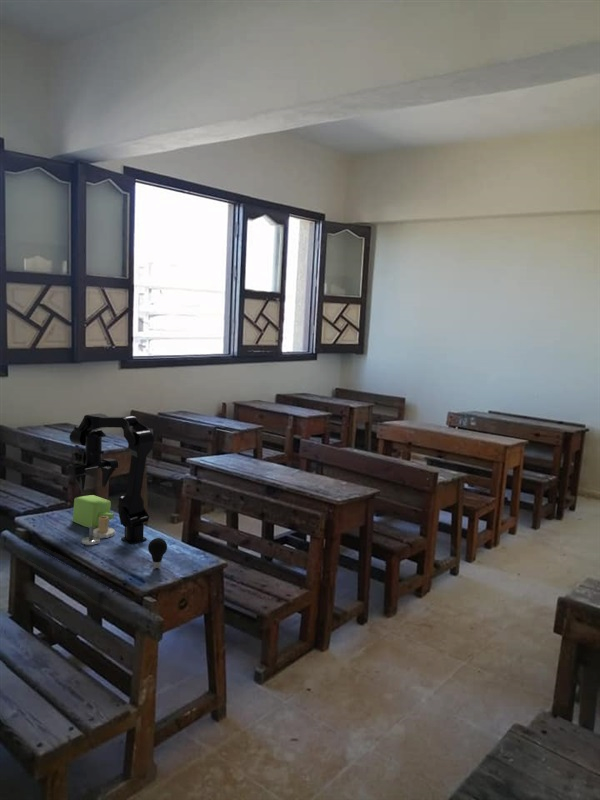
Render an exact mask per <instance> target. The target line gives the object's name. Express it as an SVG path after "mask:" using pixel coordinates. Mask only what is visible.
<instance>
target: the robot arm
mask: <svg viewBox="0 0 600 800" xmlns="http://www.w3.org/2000/svg"><path fill="white" fill-rule="evenodd" d="M105 428H121V429H122V430H123V437H124V439H125V440H126V442H127V444H128V445H127V447H128V450H129V452H130V455H131V458H130V465H129V471H128V472H129V473H128V477H127V483H126V484H127V486H126V492H125V494H124V495H122V496H120V497H119V498H118V505H117V508H118V518H119V521H120V522H119V523H120V525H122V527H124V535H123V536H122V537H121V538H120V540H122V541H124V542H127V543H128V544H131V545H135V544H137V543H141V542H144V541H147V537H144V529H145V528H144V527H145V526H144V525H145V523H147V522H149V520H150V515H149V514H148V511H147V510H146V508H145V501H144V499H143V496H142V488H143V481H144V476H145V475H144V473H145V468H146V461H147V457H148V455H149V453H150V452H151V450H152V449H153V446H154V443H155V436H154V434H153V433H152V431H151V430H150V429H149V427H148V426H146V425H145V424H144V423H142V422H140V421H139V419H137V417H136V416H133V415H129V416H109V415H106V414H103V413H92V414H86V415H84V416H83V417H82V420H81V422H80V424H79V425H76V426H75V425H74V429H73V430H72V431H71V432H70V434H69V441H70V443H73V444H74V445H77V446H78V445H79V446H82V447H85V449H83V450H82V453H81V454H80V453H79V452H73V453H71V462H73V463H74V464H72V463H71V464H68V465H67V466H66V473H67V474H69V475H71V476H73V477H74V478H75V480H76V482H77V484H78V487H79V490H80V491H81V492H84V491H85V486H86V485H85V483H86V477H87V475H86V474H85V473H86V471H88V470H89V471H90V470H94V469H99V468H100V470H101V473H102V475H101V476H102V477H101V484H102V485H101V486H102V487H103V488H105V487H106V485H107V484H108V482H109V480H110V478H111V477H112V474H113V473H114V472H115V471H116V470H117V469H118V468H119V465H120V464H119V463H120V462H119V461H118V460H117V459H115V458H111V457H110V458H102V457H103V456H102V455H103V454H105V453H104V451H105V450H103V448H102V446H103V438H105V437H106V436H107V435H106V434H105V433H104V432H103V430H102V429H105ZM131 428H132V429H133V430H134V431H133V432H132V431H131Z"/></svg>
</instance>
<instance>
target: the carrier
mask: <svg viewBox="0 0 600 800" xmlns="http://www.w3.org/2000/svg"><path fill="white" fill-rule="evenodd" d="M93 529H94V528H93V526H90V527H89V528H88V530H89V531H88V532H89V533H88V535H89V536H86V537H83V538H82V539H81V544H82V545H84V544H85V545H84V546H95V544H96V545H98V543H99V544H100V542H101V538H98V537H95V536H93Z"/></svg>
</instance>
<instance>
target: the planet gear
mask: <svg viewBox="0 0 600 800" xmlns="http://www.w3.org/2000/svg"><path fill="white" fill-rule="evenodd" d="M108 521H109V522H110V519H109V517H107V516H101V517H99V526H98V527H96V528H93V537H98V538H100V539H105V538H106V539H107V538H109V537H111V538H112V537H113V536H114V535H116V531H115V529H114V528H112V527H109V524H108Z"/></svg>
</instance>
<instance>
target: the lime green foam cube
mask: <svg viewBox="0 0 600 800" xmlns="http://www.w3.org/2000/svg"><path fill="white" fill-rule="evenodd" d="M111 505H112V503H111V501H110V500H109V499H105V498H103V497H102V496H101V497H100V496H97V495H94V494H92V495H91V494H90V495H83V496H77V497H75V498H74V501H73V511H72V522H74V523H76V524H78V525H79V526H80V525H81V526H82V527H86V528H88V529H89V527H90V526H93V529H97V528H98V526H99V517H101V516H107V517H109V521H108V525H109V524H110V520H114V513H113V512H112V513H111Z"/></svg>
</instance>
